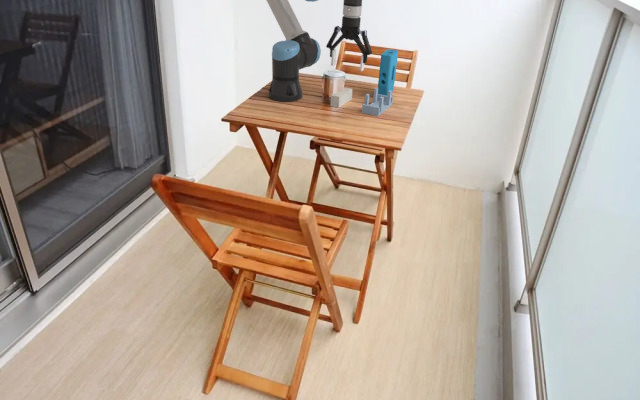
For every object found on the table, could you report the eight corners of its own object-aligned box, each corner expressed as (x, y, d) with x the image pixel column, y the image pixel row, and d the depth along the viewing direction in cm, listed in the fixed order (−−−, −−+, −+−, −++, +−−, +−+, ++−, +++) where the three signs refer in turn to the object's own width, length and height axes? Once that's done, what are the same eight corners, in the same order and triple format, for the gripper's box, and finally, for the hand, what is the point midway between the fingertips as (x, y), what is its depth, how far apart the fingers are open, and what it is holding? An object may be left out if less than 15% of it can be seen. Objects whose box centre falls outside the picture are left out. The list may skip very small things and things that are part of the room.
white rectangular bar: (338, 108, 208) (339, 96, 205) (330, 106, 209) (331, 95, 207) (351, 99, 218) (352, 88, 216) (343, 97, 220) (344, 87, 217)
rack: (378, 116, 200) (380, 99, 197) (361, 112, 203) (363, 96, 200) (392, 104, 214) (394, 89, 210) (376, 101, 216) (377, 86, 213)
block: (386, 101, 218) (391, 56, 207) (376, 99, 219) (380, 54, 209) (393, 93, 227) (398, 50, 217) (383, 92, 229) (388, 49, 219)
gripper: (320, 13, 199) (317, 64, 210) (376, 21, 191) (370, 74, 201) (328, 10, 205) (325, 60, 216) (383, 19, 196) (377, 70, 207)
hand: (347, 67), depth 209 cm, fingers open, 13 cm apart
